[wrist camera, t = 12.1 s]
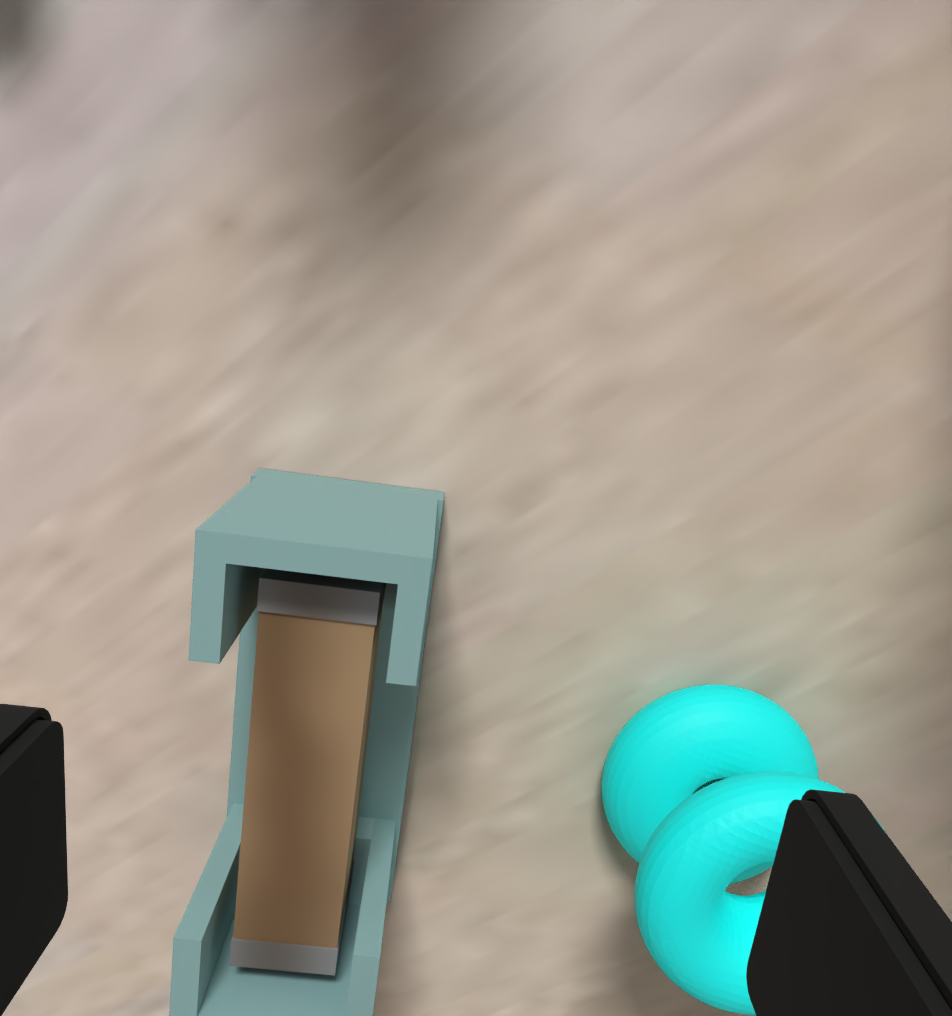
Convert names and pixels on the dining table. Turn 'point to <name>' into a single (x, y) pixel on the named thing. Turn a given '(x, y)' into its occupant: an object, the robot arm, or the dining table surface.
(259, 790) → the brown rectangular bar
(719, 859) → the donuts
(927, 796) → the dining table surface
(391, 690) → the slotted posts
